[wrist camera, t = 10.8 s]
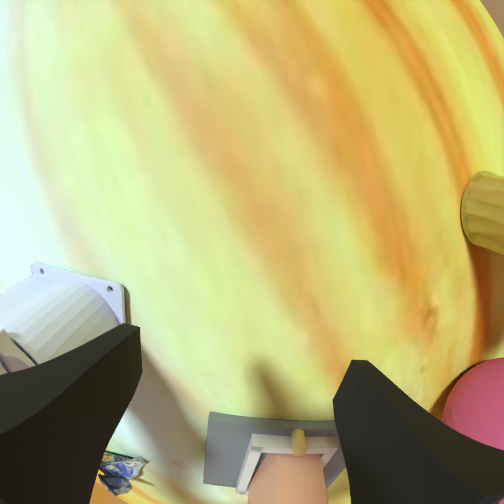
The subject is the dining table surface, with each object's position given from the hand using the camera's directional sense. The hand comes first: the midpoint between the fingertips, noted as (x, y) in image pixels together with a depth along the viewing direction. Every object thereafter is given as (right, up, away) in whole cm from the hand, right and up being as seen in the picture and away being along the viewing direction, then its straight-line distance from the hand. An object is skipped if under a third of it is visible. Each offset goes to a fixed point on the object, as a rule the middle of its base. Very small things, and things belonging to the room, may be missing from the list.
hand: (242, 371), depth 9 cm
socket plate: (+3, -19, +15) cm, 24 cm away
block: (+3, -19, +14) cm, 24 cm away
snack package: (-19, -25, +18) cm, 36 cm away
